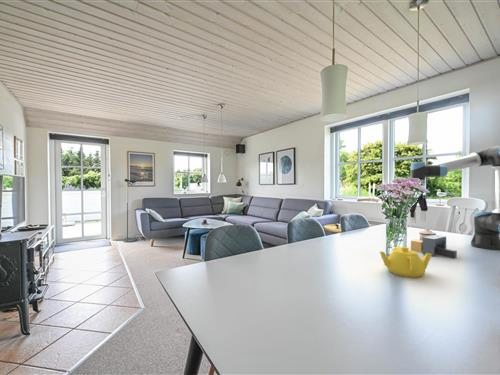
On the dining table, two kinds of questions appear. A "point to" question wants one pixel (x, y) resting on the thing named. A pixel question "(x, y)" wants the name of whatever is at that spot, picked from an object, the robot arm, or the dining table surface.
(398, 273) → the teapot
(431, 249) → the housing
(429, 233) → the teacup with lid
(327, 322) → the dining table surface
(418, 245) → the plug
